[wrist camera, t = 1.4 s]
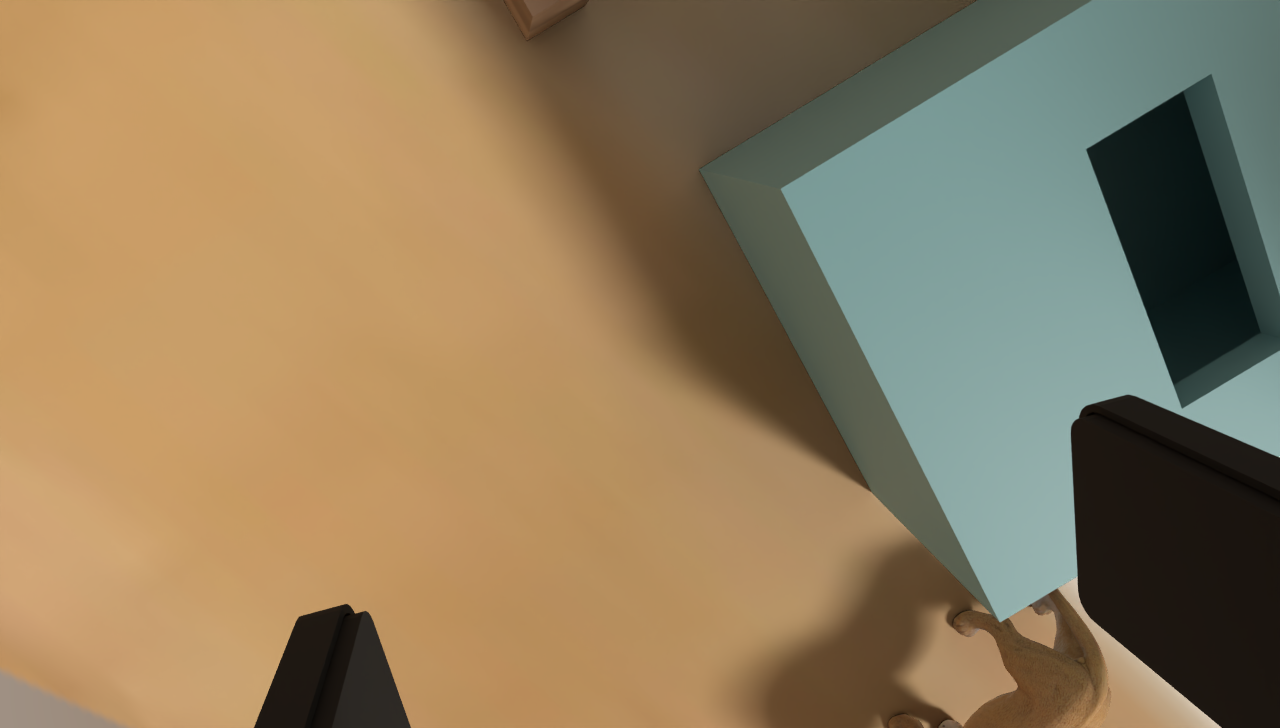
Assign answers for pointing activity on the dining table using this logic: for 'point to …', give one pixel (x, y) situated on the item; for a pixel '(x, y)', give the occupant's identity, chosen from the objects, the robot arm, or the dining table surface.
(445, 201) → the dining table surface
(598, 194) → the dining table surface
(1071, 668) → the lion figurine
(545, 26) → the wood-grain rectangular block
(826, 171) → the box
